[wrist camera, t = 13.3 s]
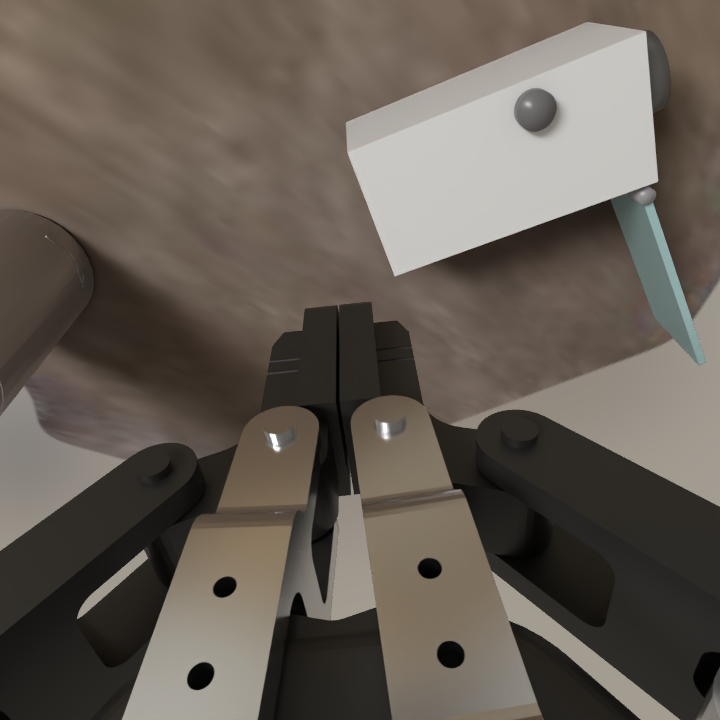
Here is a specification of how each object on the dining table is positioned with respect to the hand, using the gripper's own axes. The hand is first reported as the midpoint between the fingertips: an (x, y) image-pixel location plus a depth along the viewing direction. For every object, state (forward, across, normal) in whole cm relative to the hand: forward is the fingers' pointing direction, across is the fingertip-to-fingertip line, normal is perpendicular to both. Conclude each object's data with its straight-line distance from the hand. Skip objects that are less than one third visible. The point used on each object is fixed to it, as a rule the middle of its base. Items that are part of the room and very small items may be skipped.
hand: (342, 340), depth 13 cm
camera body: (+29, -9, +3) cm, 30 cm away
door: (+28, -21, +12) cm, 37 cm away
